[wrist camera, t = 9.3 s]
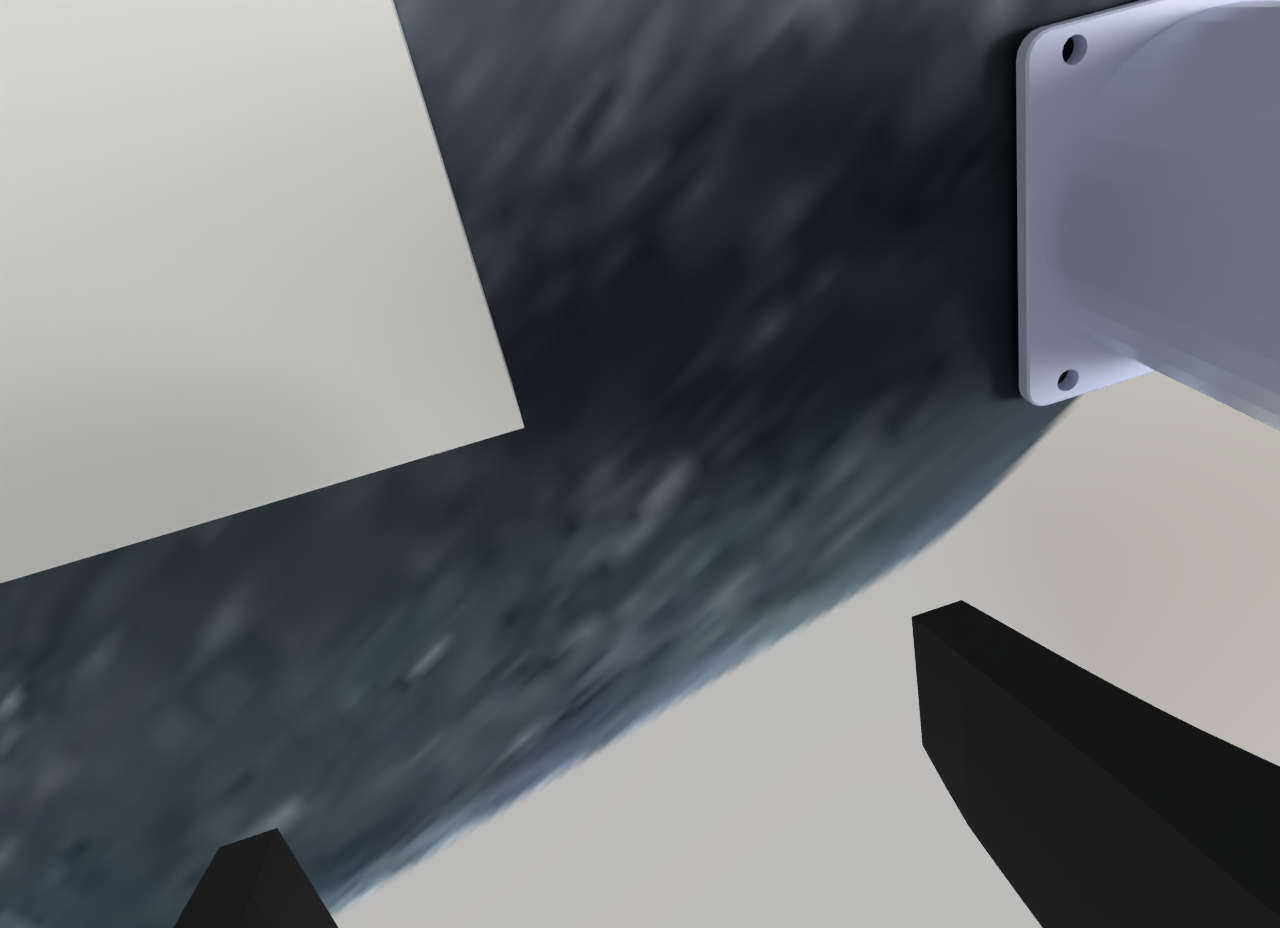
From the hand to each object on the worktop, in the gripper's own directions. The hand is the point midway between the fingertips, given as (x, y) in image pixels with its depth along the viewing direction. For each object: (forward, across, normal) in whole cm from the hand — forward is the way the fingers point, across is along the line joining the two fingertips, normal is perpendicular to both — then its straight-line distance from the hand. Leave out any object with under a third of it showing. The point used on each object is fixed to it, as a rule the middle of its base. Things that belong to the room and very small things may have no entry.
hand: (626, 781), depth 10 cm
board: (+10, +5, -6) cm, 13 cm away
